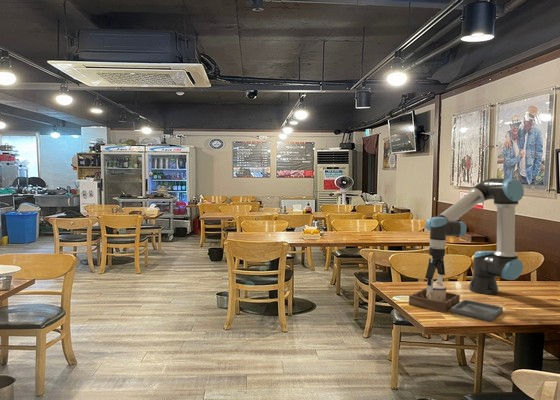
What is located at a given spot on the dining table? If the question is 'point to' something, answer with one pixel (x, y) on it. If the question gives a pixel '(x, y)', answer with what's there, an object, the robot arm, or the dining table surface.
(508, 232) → the robot arm
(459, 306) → the charcoal tray
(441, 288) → the teacup with lid
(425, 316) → the dining table surface
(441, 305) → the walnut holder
